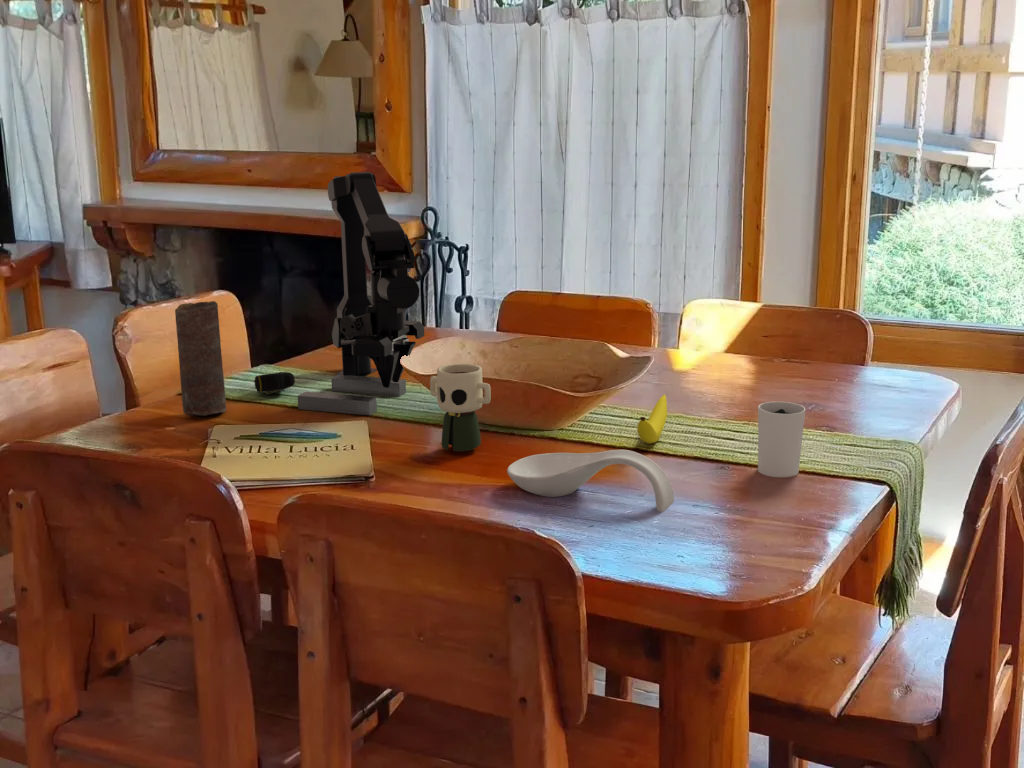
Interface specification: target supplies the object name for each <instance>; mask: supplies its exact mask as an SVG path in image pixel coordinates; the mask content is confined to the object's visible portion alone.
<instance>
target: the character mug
mask: <svg viewBox="0 0 1024 768" xmlns="http://www.w3.org/2000/svg"><path fill="white" fill-rule="evenodd" d="M429 386H430V389H429V390H430V391H429V392H430V395H431V396H433V397H436V401H437V406H438V408H440V410H441V411H443V412H445V414H444V417H443V420H442V421H443V422H442V430H441V431H442V432H441V444H440V445H441V447H442V449H445V450H447V451H448V450H449V446H451V447H452V450H453V452H466V451H467V452H468V451H472V450H473V451H474V449H476V448H478V447H479V446H480V445H482V439H481V431H480V426H479V419H478V415H477V413H476V411H477V410H479V409H481V408H482V407H483V404H485V405H488V404H491V398H492V397H491V394H492V393H491V390H492V389H491V385H490V384H489V383H487V382H483V368H482V366H480V365H477V364H472V363H453V364H451V363H450V364H446V365H445V364H444V365H441V366H439V367H437V370H436V376H435V375H432V376H430V379H429ZM483 390H484V392H483ZM483 395H484V396H483Z"/></svg>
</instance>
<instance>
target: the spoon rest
mask: <svg viewBox="0 0 1024 768" xmlns="http://www.w3.org/2000/svg"><path fill="white" fill-rule="evenodd" d="M617 464H621V465H626V466H629V467H632V468H634V469H635V470H637V471H639V472H640V473H642V474H643V475H645V477H646V478H647V479H648V481H649V482H650V484H651V485H652V487H653V488H652V489H653V493H654V497H655V507H656V511H657V512H659V513H663V512H665V511H667V509H668V508H669V507H670V506H672V505H673V503H674V502H675V495H674V490H673V485H672V483H671V480H670V478H669V477H668V475H667V474H666V472H665V471H664V469H662V467H661V466H660V465H658V464H657V462H655V461H653V460H652V459H650V458H649V457H648V456H646V455H643V454H641V453H639V452H636V451H633V450H628V449H610V450H604V451H598V452H585V453H584V452H583V453H582V452H581V453H579V452H578V453H577V452H549V453H539V454H532V455H528V456H525V457H523V458H520V459H517V460H515V461H514V462H512V463H510V465H509V466H508V467H507V469H506V473H507V475H508V476H509V478H510V479H511V480H512V481H513V482H514V483H515V485H517V486H518V487H519V488H520V489H522V490H524V491H526V492H529V493H532V494H534V495H537V496H542V497H552V498H553V497H554V498H555V497H562V496H568V495H570V494H572V493H575V491H576V490H578V489H579V488H580V487H582V486H583V485H585V484H586V483H587V482H588V481H589V480H590V479H591V478H592V477H594V475H596V474H597V473H598V472H599V471H601V470H603V469H605V468H606V467H609V466H611V465H617Z"/></svg>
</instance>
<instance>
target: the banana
mask: <svg viewBox="0 0 1024 768" xmlns="http://www.w3.org/2000/svg"><path fill="white" fill-rule="evenodd" d="M667 417H668V402H667V396H666V394H662V396H660V398H659V399H658V400H657V401H656V403H655V404H654V407H653V409H652V411H651V413H650V415H649V418H648V419H646V416H640V417H639V419H640V420H639V421H638V423H637V427H636V430H637V434H638V437H639V439H640V440H641V441H642V442H644V443H646V444H649V445H650V444H653V443H656V442H659V440H660V437H662V433H663V430H664V427H665V425H666V422H667Z"/></svg>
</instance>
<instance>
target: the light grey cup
mask: <svg viewBox="0 0 1024 768" xmlns="http://www.w3.org/2000/svg"><path fill="white" fill-rule="evenodd" d="M757 413H758V414H757V416H758V417H757V418H758V419H757V421H758V422H757V430H758V431H757V433H758V435H757V437H758V438H757V443H758V444H757V447H758V448H757V451H758V452H757V461H758V462H757V472H759V474H762V475H765V476H767V477H771V478H772V477H773V478H792V477H795V476H797V475H798V474H799V471H800V469H799V468H800V462H801V461H800V460H801V452H802V445H803V435H804V434H803V433H804V424H805V415H806V407H805V406H804V405H802V404H798V403H794V402H788V401H767V402H762V403H760V404H758V409H757Z"/></svg>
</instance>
